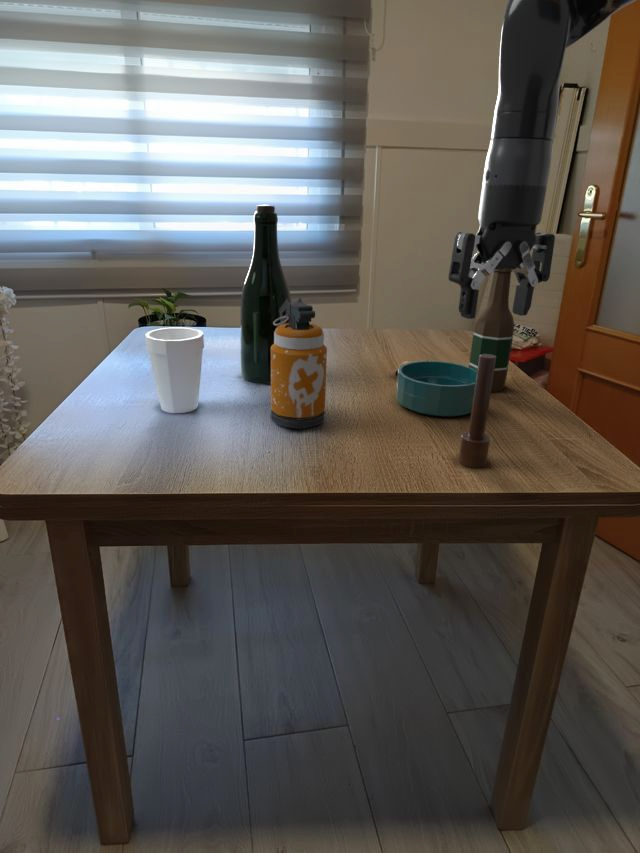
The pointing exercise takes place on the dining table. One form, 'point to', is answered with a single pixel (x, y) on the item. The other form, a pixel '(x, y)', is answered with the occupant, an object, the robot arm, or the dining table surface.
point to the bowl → (436, 388)
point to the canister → (298, 368)
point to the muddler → (478, 417)
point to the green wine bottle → (262, 298)
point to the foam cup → (176, 366)
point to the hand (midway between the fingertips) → (494, 316)
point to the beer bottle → (495, 329)
